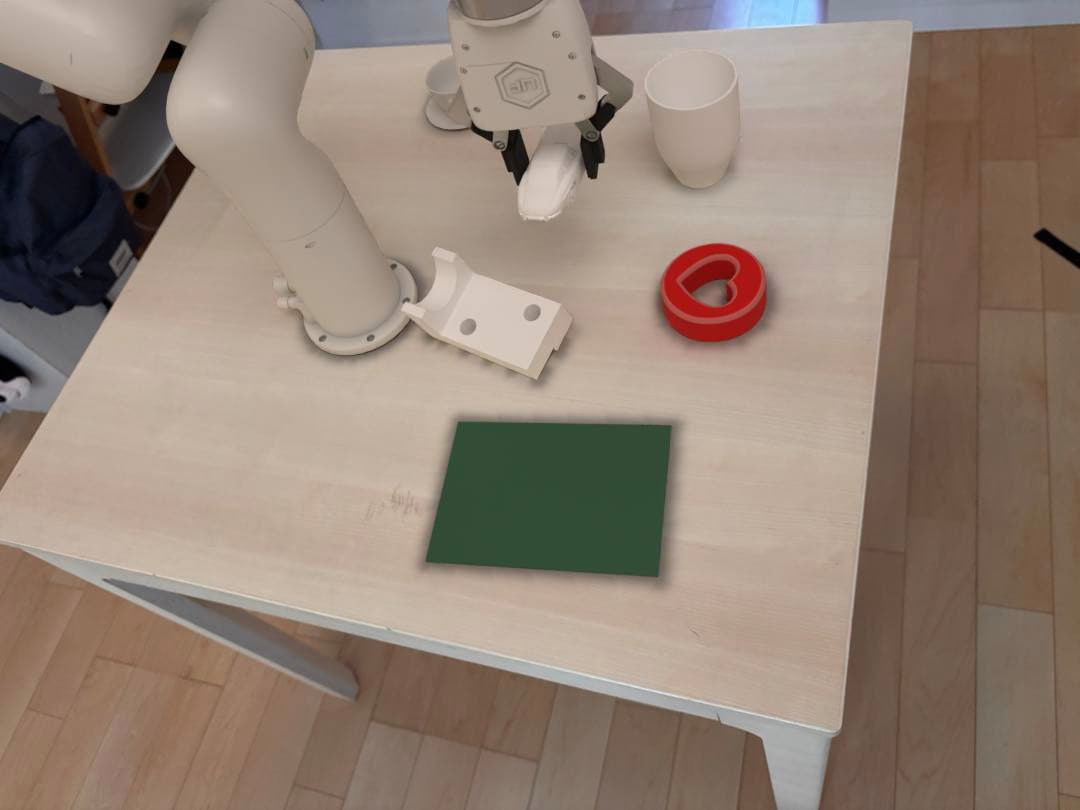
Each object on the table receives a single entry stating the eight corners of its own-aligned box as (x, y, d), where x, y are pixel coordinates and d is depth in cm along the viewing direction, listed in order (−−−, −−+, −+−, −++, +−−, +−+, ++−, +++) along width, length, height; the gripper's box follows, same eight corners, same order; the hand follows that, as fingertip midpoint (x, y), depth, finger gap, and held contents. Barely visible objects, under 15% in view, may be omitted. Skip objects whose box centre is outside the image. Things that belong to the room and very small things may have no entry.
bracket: (437, 340, 89) (400, 310, 82) (468, 281, 90) (435, 246, 83) (540, 383, 83) (510, 354, 77) (573, 319, 84) (546, 285, 78)
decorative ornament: (652, 280, 86) (648, 259, 83) (747, 251, 85) (746, 229, 82) (679, 354, 80) (676, 333, 78) (781, 324, 80) (781, 302, 77)
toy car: (607, 130, 77) (600, 98, 74) (564, 230, 72) (555, 200, 69) (556, 128, 79) (548, 97, 76) (511, 225, 73) (500, 195, 71)
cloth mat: (426, 562, 75) (425, 560, 74) (459, 423, 82) (458, 421, 82) (658, 577, 69) (657, 575, 69) (671, 426, 76) (671, 425, 76)
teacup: (431, 85, 111) (419, 54, 108) (506, 72, 109) (496, 40, 105) (423, 138, 106) (410, 107, 102) (501, 125, 104) (491, 93, 100)
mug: (726, 207, 89) (720, 113, 79) (646, 195, 92) (630, 103, 82) (760, 130, 94) (758, 32, 84) (683, 121, 97) (672, 26, 87)
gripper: (376, 25, 60) (457, 211, 75) (621, -12, 56) (656, 194, 70) (399, -38, 64) (471, 151, 79) (629, -77, 60) (660, 131, 74)
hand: (558, 169), depth 74 cm, fingers closed on toy car, 5 cm apart
